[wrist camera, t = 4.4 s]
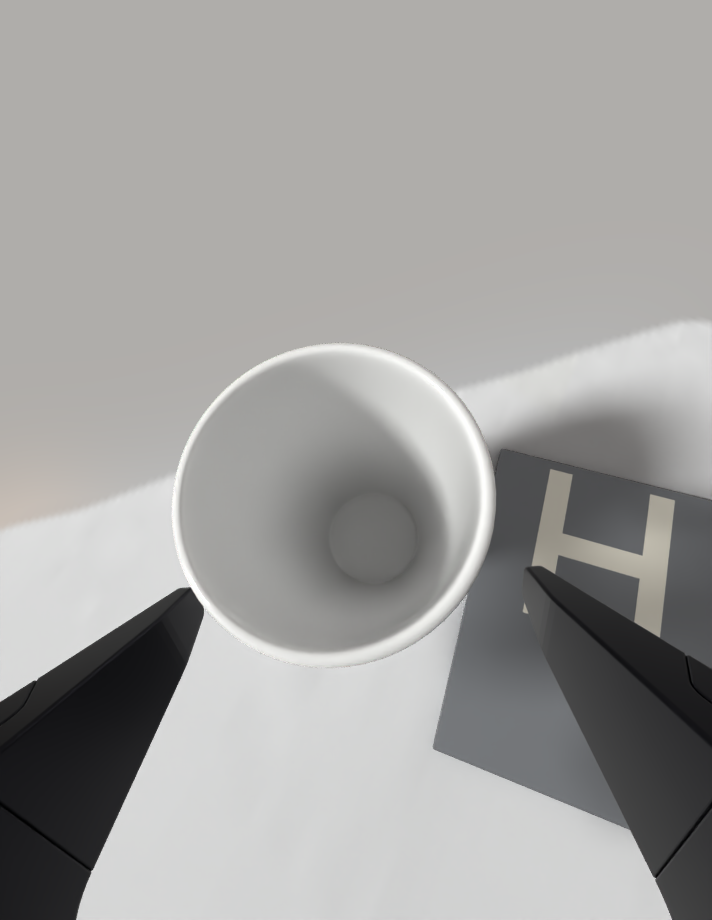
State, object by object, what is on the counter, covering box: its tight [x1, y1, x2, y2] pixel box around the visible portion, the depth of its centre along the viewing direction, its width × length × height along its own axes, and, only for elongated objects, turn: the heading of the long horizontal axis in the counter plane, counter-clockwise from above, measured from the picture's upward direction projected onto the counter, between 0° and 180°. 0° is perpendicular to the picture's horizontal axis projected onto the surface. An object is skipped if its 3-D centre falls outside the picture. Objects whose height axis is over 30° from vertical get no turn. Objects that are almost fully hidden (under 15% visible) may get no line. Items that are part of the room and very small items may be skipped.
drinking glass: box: [172, 343, 496, 668], centre depth 15 cm, size 7×7×15 cm
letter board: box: [433, 449, 712, 830], centre depth 19 cm, size 16×12×1 cm
